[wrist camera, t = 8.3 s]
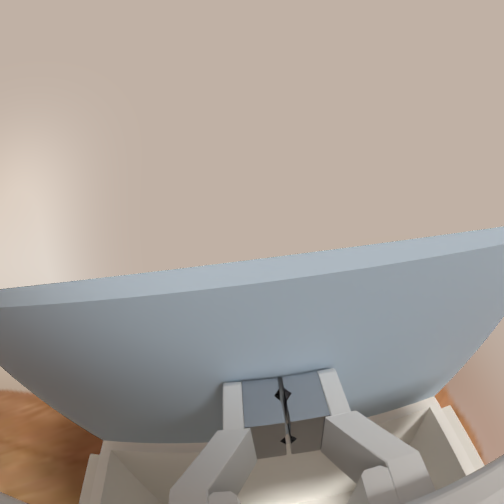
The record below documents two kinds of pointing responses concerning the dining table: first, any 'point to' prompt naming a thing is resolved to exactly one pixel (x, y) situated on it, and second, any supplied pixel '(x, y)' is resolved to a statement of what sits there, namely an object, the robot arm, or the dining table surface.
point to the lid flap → (254, 332)
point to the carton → (280, 464)
